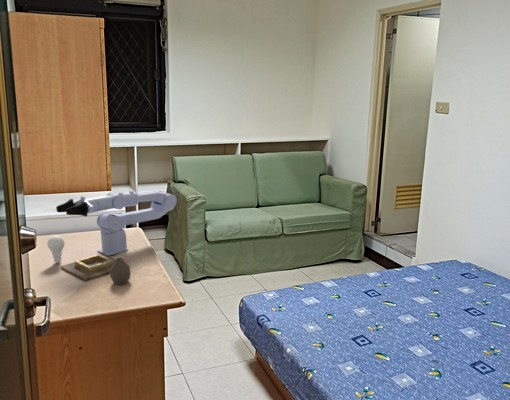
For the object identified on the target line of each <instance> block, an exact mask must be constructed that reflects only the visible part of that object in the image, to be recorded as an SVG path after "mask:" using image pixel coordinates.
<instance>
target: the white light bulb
mask: <svg viewBox="0 0 510 400" xmlns="http://www.w3.org/2000/svg"><path fill="white" fill-rule="evenodd" d="M48 238H49V239H47V242H46V243H47V244H46V245H47V247H48V249H49V250H50V252H51V254H52V257H53V261H54V263H56V264H59V263H60V262H62V255H63V253H62V252H63V249H64V247H65V245H66V244H65V243H66V242H65V239H64V238H63V237H62V236H61V235H53V236H50V237H48Z"/></svg>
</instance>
